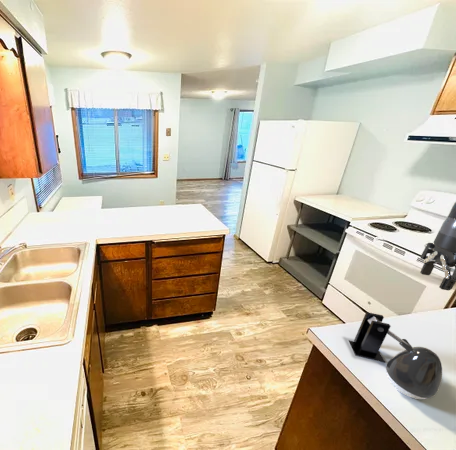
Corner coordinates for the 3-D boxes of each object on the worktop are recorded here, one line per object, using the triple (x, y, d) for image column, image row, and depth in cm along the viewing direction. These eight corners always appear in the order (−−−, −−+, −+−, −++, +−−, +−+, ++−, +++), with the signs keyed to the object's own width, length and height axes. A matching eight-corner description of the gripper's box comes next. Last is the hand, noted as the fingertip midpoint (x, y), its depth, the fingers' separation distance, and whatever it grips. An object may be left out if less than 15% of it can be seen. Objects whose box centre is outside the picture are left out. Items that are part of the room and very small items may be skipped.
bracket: (372, 344, 83) (386, 313, 78) (384, 364, 76) (401, 331, 71) (345, 338, 85) (357, 307, 80) (354, 357, 78) (368, 324, 73)
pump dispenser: (381, 362, 76) (402, 328, 69) (428, 386, 69) (457, 351, 63) (377, 385, 69) (400, 351, 63) (429, 414, 63) (460, 379, 56)
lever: (402, 343, 78) (409, 340, 77) (411, 356, 74) (419, 352, 73) (365, 317, 79) (372, 313, 78) (372, 328, 75) (379, 323, 74)
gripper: (500, 246, 61) (469, 298, 67) (456, 227, 74) (433, 272, 79) (461, 241, 63) (434, 292, 69) (425, 223, 76) (405, 267, 82)
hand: (433, 281), depth 74 cm, fingers open, 8 cm apart
